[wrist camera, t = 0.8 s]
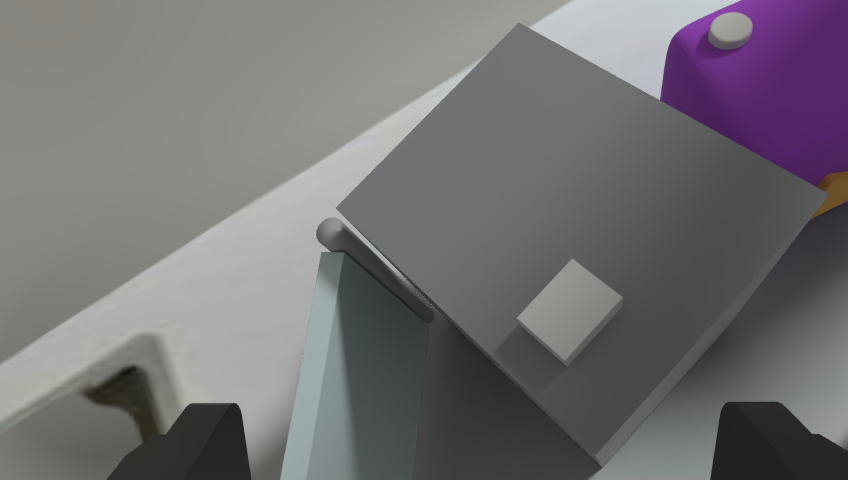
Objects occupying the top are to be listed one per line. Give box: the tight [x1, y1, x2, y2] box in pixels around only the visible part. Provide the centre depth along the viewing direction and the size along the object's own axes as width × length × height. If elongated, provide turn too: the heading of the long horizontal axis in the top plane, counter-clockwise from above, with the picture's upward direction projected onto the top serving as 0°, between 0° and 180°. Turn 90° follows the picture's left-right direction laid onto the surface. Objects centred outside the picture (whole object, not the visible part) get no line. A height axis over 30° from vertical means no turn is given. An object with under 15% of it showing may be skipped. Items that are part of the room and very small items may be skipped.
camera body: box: [336, 23, 829, 468], centre depth 26 cm, size 10×15×17 cm
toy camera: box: [660, 0, 848, 219], centre depth 29 cm, size 11×14×10 cm
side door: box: [280, 218, 434, 480], centre depth 26 cm, size 2×13×13 cm, turn 173°
